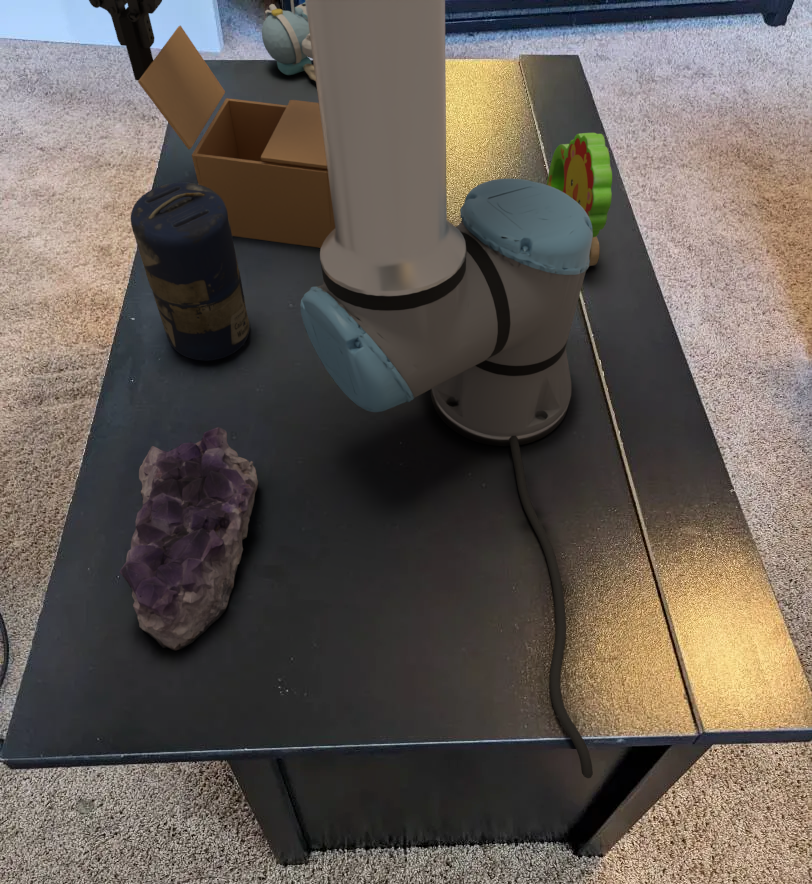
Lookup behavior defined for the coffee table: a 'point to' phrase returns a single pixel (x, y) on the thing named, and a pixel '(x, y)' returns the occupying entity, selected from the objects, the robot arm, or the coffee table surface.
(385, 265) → the robot arm
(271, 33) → the toy figure
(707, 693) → the coffee table surface
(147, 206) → the canister
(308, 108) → the carton
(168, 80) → the flap
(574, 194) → the toy lion
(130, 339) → the coffee table surface
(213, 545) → the geode
